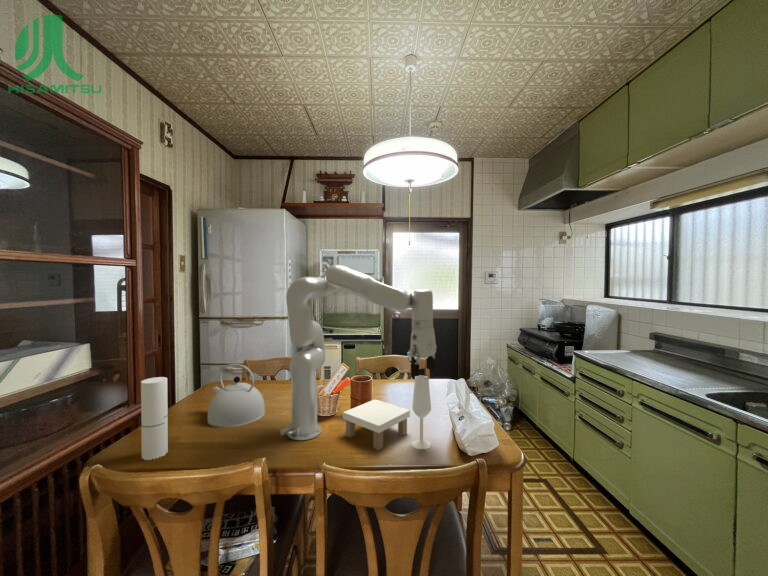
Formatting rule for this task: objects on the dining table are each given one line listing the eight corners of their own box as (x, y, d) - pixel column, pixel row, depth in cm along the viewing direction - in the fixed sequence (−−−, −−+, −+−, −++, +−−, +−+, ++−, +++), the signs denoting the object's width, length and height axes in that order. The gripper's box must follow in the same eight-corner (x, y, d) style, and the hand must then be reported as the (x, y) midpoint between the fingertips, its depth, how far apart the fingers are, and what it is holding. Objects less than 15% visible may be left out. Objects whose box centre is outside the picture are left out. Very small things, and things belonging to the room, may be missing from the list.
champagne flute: (418, 438, 120) (419, 373, 119) (434, 443, 115) (434, 377, 115) (408, 444, 115) (408, 377, 114) (424, 451, 110) (424, 381, 110)
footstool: (378, 452, 110) (378, 425, 109) (343, 435, 121) (343, 412, 121) (409, 433, 123) (409, 410, 123) (375, 420, 135) (375, 399, 135)
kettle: (189, 422, 133) (189, 368, 133) (231, 403, 155) (231, 356, 154) (239, 430, 126) (239, 373, 125) (275, 409, 147) (275, 360, 147)
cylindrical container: (172, 448, 112) (172, 376, 111) (158, 460, 104) (158, 383, 104) (151, 449, 111) (150, 377, 111) (136, 460, 104) (135, 383, 104)
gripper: (417, 327, 105) (417, 379, 106) (444, 322, 119) (444, 368, 119) (399, 326, 110) (399, 375, 110) (426, 321, 123) (427, 365, 124)
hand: (423, 372), depth 115 cm, fingers open, 9 cm apart
